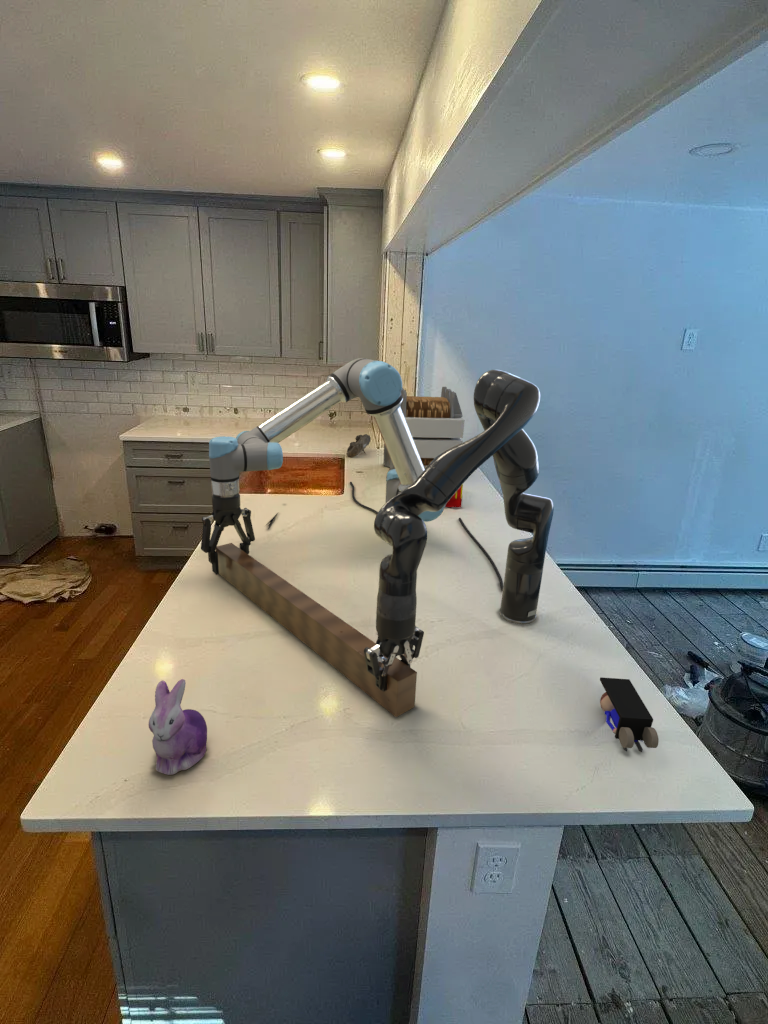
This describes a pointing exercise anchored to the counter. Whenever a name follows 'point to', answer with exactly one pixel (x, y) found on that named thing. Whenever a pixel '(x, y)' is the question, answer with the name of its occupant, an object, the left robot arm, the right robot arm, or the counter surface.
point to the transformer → (431, 424)
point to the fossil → (358, 445)
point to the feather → (271, 521)
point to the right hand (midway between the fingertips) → (392, 683)
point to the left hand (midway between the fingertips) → (229, 568)
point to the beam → (317, 628)
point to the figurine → (176, 730)
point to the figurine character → (627, 714)
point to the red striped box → (455, 499)
